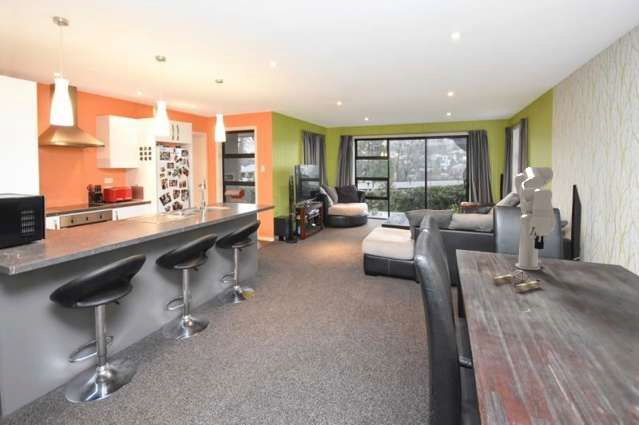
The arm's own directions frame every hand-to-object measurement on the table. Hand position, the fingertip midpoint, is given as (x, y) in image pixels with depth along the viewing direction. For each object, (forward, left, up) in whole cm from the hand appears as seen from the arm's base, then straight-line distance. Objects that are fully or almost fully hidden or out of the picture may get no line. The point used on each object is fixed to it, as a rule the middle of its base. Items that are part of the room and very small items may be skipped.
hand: (538, 248), depth 176 cm
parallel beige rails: (+16, 0, -17) cm, 23 cm away
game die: (+14, 0, -17) cm, 22 cm away
